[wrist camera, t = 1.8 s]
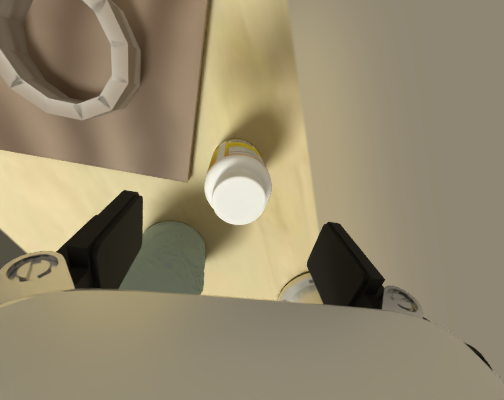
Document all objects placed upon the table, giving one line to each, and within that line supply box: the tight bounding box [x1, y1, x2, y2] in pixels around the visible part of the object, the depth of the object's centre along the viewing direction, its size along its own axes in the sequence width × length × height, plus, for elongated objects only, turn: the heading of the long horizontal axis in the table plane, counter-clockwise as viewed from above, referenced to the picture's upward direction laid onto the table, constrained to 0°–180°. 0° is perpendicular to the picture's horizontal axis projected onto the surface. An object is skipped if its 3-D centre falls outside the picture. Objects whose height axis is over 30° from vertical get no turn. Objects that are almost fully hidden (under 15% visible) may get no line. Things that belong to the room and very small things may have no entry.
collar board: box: [0, 0, 209, 182], centre depth 18 cm, size 20×20×4 cm
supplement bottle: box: [204, 139, 272, 225], centre depth 20 cm, size 6×6×10 cm
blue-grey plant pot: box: [119, 221, 206, 295], centre depth 24 cm, size 10×10×12 cm
